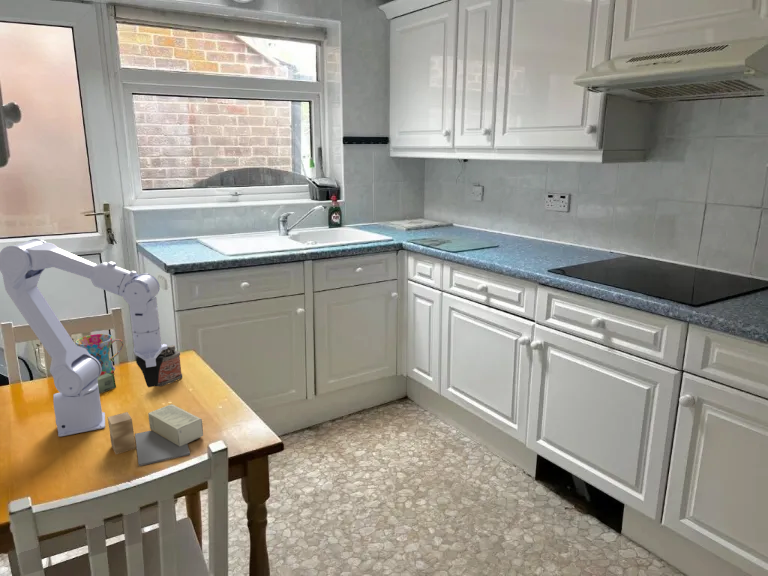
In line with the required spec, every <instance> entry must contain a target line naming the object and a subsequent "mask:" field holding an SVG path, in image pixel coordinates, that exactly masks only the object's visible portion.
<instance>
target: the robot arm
mask: <svg viewBox="0 0 768 576" xmlns="http://www.w3.org/2000/svg"><path fill="white" fill-rule="evenodd" d="M49 268H55V269H58V270H62V271H65V272H67V273H71V274H75V275H78V276H81V277H83V278H86V279H90V282H92V285H93V286H94V287H96V288H98V289H101V290H103V291H106V292H110V293H112V294H114V295H117V296H120V297H122V298H123V299H124V301H125V302H126V303H127V304H128V306H129V315H130V324H131V332H132V339H133V340H132V341H133V354H134V355H135V362H136V365H137V367H138V368H139V369H140V370H141V373H142V375H143V378H144V381H145V384H146V386H147V387H148V388H154V387H158V386H157V385H158V379H159V370H160V366H161V364H162V362H163V356H162V352H161V351H162V350H165V349H167V346H168V344H166V343H163V344H162V336H161V326H160V318H159V317H160V316H159V308H158V300H157V296H158V294H159V292H160V287H161V286H160V283H159V281H158V279H157V278H156V277H155V276H153V275H152V274H150V273H148V272H144V273H140V274H138V272H137V271H135V270H131V271H130V270H127V269H125V268H123V267H120V266H117V263H116V262H114V261H108V262H106V261H103V262H101V263H98V264H97V263H95V262H92V261H90V260H88V259H85V258H83V257H80V256H78V255H76V254H74V253H71V252H69V251H67V250H64V249H62V248H60V247H58V246H57V245H56V244H54V243H53V242H47V241H45V240H43V239H40V238H32V239H29V240H27V241H24V242H20V243H17V244H14V245H7V246H4V247H3V248H2V250H1V251H0V273H1V274H2V279H3V280H2V281H3V285H4V290H5V291H6V293H7V295H8V296H9V298H10V300H12V302H13V303H14V305H15V306H16V308H17V310H18V311H19V312H20V314H21V315H22V317H23V319H24V320H25V321H26V323H27V324H28V326H29V327H30V329H31V330H32V331H33V333H34V334H35V336H36V338H37V339H38V340H39V342H40V344H42V347H43V348H44V349H45V351H46V352H47V354H48V355H49V357H50V358H51V362H50V368H49V373H50V374H51V376H52V377H53V384H54V386H55V389H56V390H57V391H58V392H56V393H53V401H52V402H53V410H54V416H55V424H56V425H55V426H56V428H57V436H58V437H66V436H71V435H75V434H79V433H80V434H81V433H85V432H91V431H95V430H101V429H105V428H106V412H104V411H103V409H102V404H101V397H100V396H101V394H99V388H98V379H97V378H98V377H99V376H100V374H101V371H102V367H101V364H100V362H99V361H98V360H97V359H96V358H94V357H93V356H91V355H90V354H89V352H88V351H87V350H86V349H85V348H82V347H79V346H77V345H76V343H75V342H74V341H73V339H72V337H71V336H70V334H69V332H68V331H67V329H66V328H65V326H64V325H63V323H62V322H61V321H60V319H59V318H58V316H57V315H56V313H55V312H54V310H53V308H52V307H51V306H50V304H49V302H48V301H47V299H46V297H44V295H43V293H42V292H41V290H40V289H39V287H38V284H39V280H40V277H41V276H42V275H41V274H42V273H43V272H44V271H45V269H49Z"/></svg>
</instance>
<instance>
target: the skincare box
mask: <svg viewBox="0 0 768 576" xmlns="http://www.w3.org/2000/svg"><path fill="white" fill-rule="evenodd" d="M147 415H148V416H147V417H148V423H149V431H151V430H152V431H154V432H155V433H157V434H159V435H161V436H162V437H164V438H166V439H167V440H169V441H171V442H173V443H174V444H176V445H178V446H182V445H185V444H189V443H192V442H193V441H195V440H198V439H199V438H201V437H203V436H204V429H203V427H204V426H203V419H202V418H201V417H198V416H197V415H195V414H192V413H190V412H189V411H186V409H185V410H184V409H183V408H181V407H178V405H175V404H168V405H166V406H163V407H161V408H157V409H156V410H152V411H150V412H148V414H147Z"/></svg>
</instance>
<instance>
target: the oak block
mask: <svg viewBox="0 0 768 576" xmlns="http://www.w3.org/2000/svg"><path fill="white" fill-rule="evenodd" d="M107 423H108V429H109V431H108V432H109V436H110V443H111V444H110V445H111V448H112V450H113V452H114V453H115V455H119V454H122V453H125V452H129V451H132V450H135V449H136V450H137V447H136V439H135V433H134V425H133V417H132V416H131V415H130V413H129V411H126V412H123V413H118V414H114V415H111V416H107Z"/></svg>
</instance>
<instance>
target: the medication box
mask: <svg viewBox="0 0 768 576" xmlns="http://www.w3.org/2000/svg"><path fill="white" fill-rule="evenodd" d="M97 379H98V388H99V395H101V394H103V393H105V392H108V391H110V390H113V389H114V390H115V389H116V388H117V385H116V380H115V374H114V373H106V374H103V375H101V376H99V377H98V378H97Z"/></svg>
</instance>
